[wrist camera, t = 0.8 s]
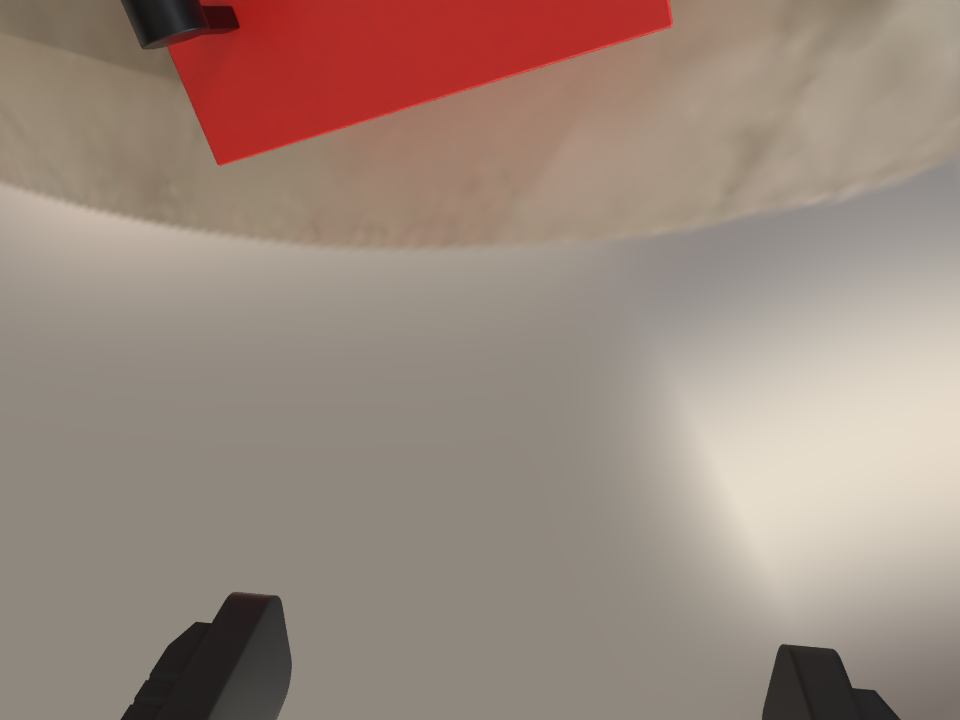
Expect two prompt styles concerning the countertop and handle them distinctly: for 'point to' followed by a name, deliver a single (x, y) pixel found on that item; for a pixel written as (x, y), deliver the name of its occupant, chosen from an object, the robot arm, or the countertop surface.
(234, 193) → the countertop surface
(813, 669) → the robot arm
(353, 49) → the red box lid
